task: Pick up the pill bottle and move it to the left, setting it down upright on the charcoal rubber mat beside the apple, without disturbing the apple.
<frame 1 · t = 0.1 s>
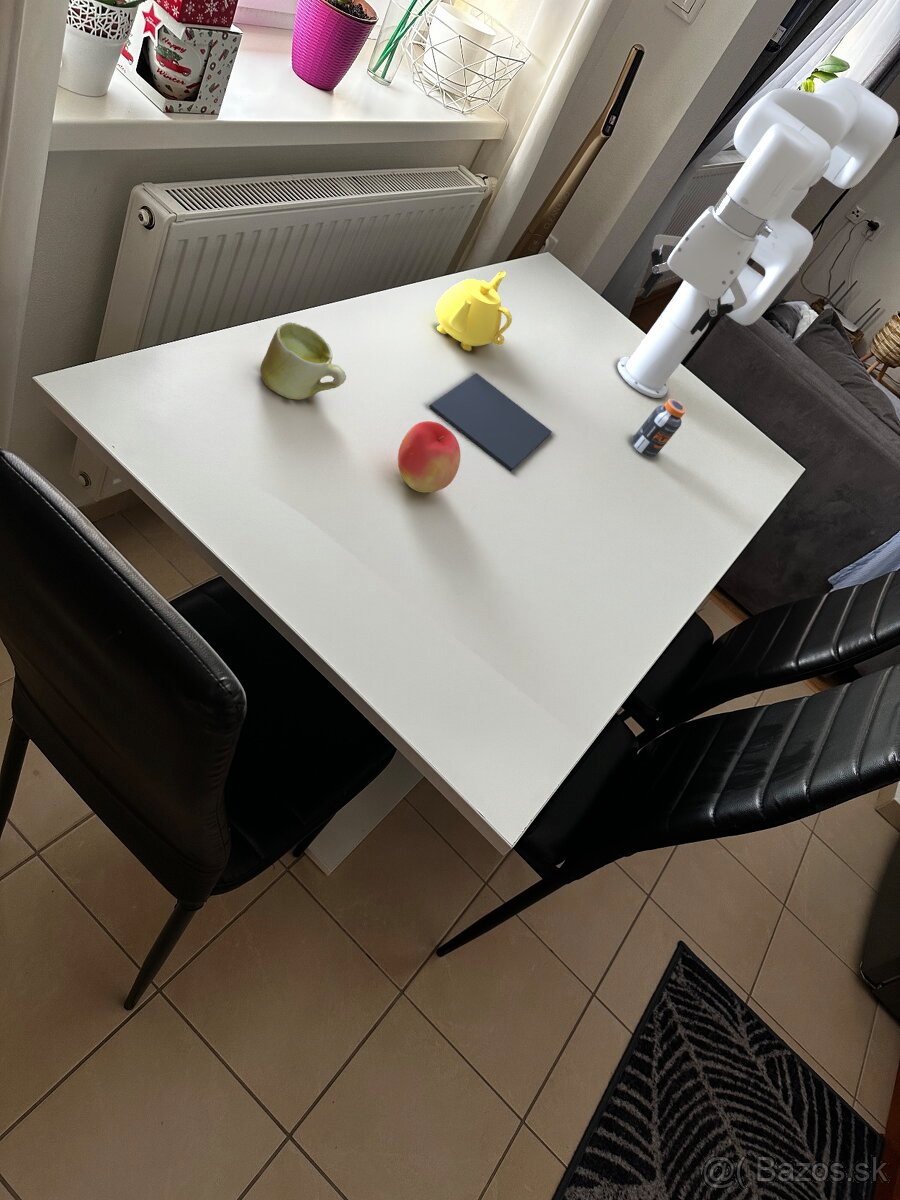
hand: (669, 313, 136), 31 cm above the table, tool pointing down, fingers open, 9 cm apart
mat: (492, 420, 153), on the table
mug: (296, 389, 134), on the table
teapot: (463, 337, 168), on the table
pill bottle: (642, 448, 171), on the table
apple: (414, 483, 133), on the table
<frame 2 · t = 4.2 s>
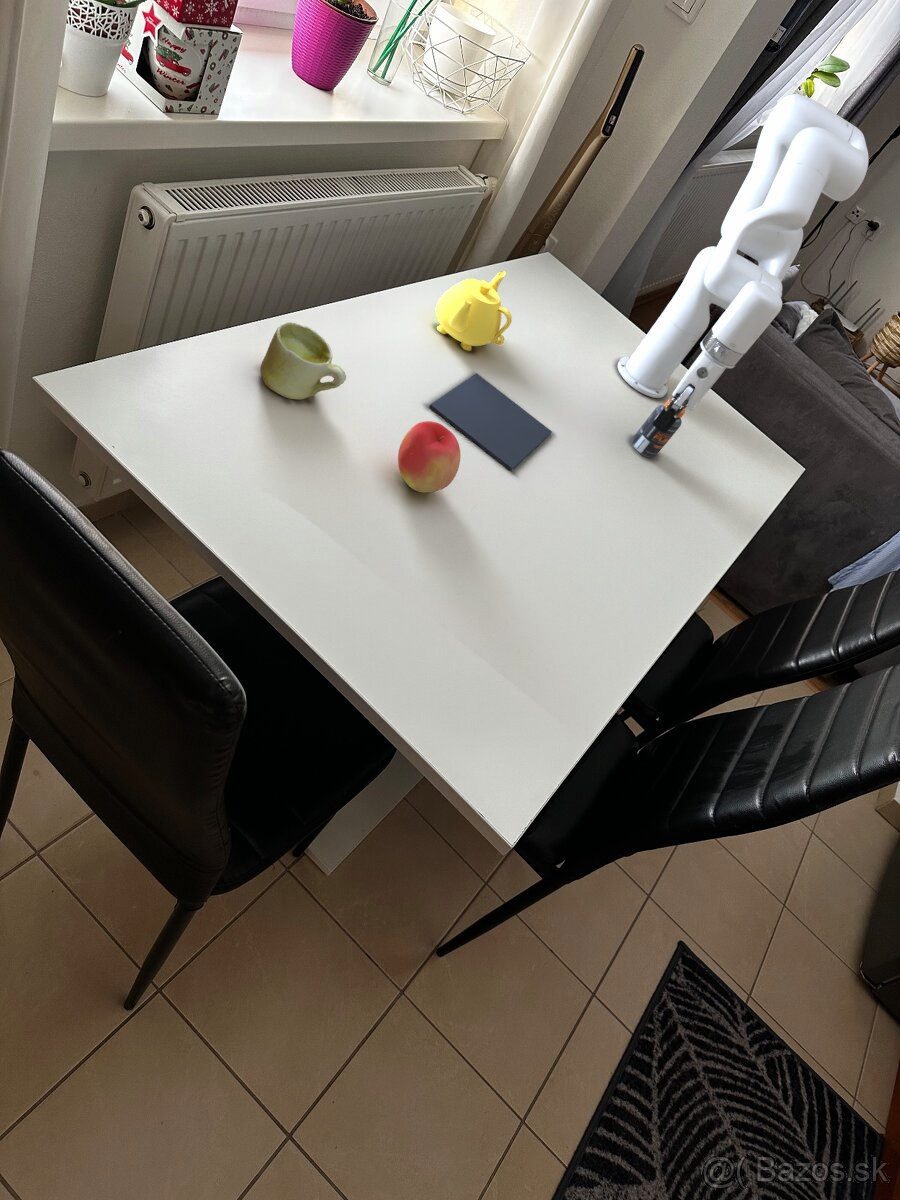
hand: (663, 421, 167), 7 cm above the table, tool pointing down, fingers closed on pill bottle, 5 cm apart
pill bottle: (642, 448, 171), on the table, touching gripper
everything else where it was.
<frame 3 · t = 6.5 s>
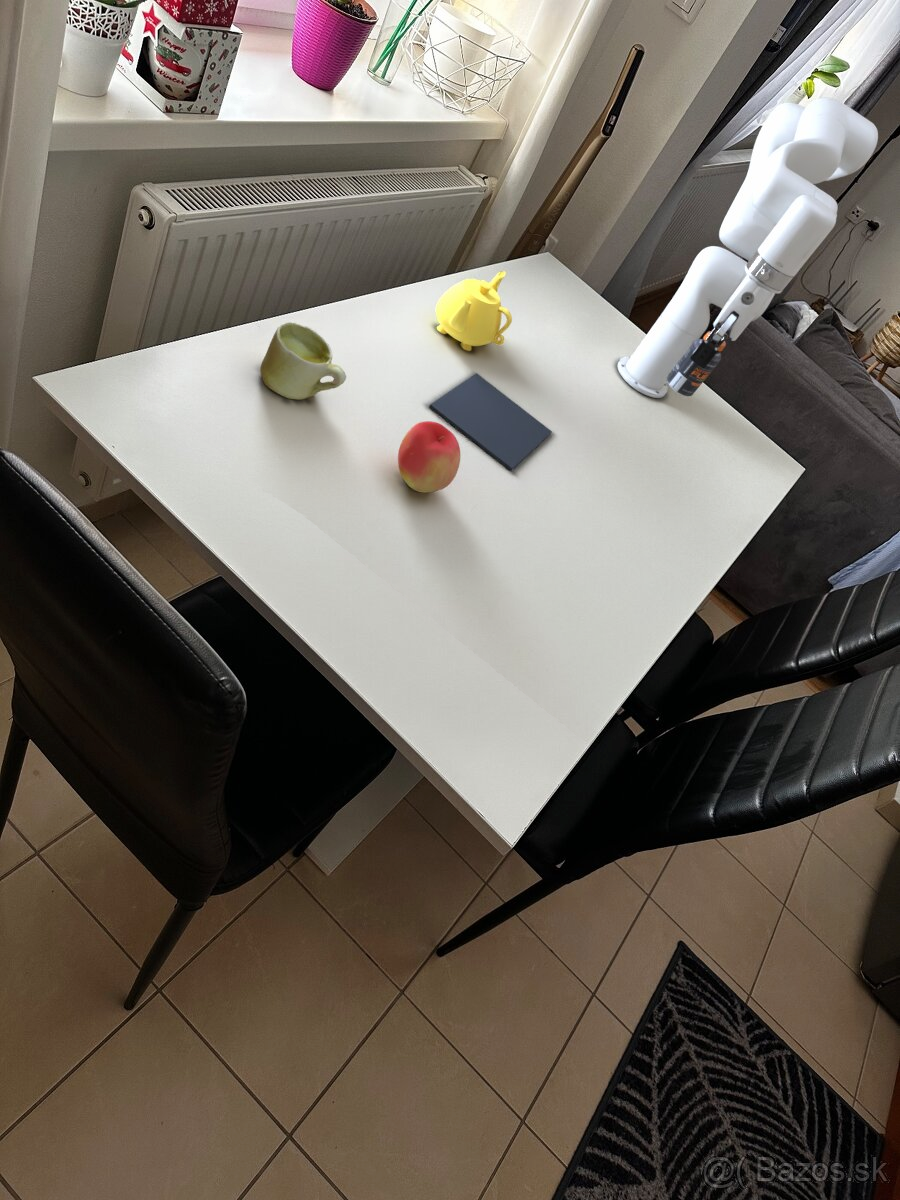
hand: (702, 357, 155), 22 cm above the table, tool pointing down, fingers closed on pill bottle, 5 cm apart
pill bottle: (678, 387, 160), point 15 cm above the table, touching gripper
everything else where it was.
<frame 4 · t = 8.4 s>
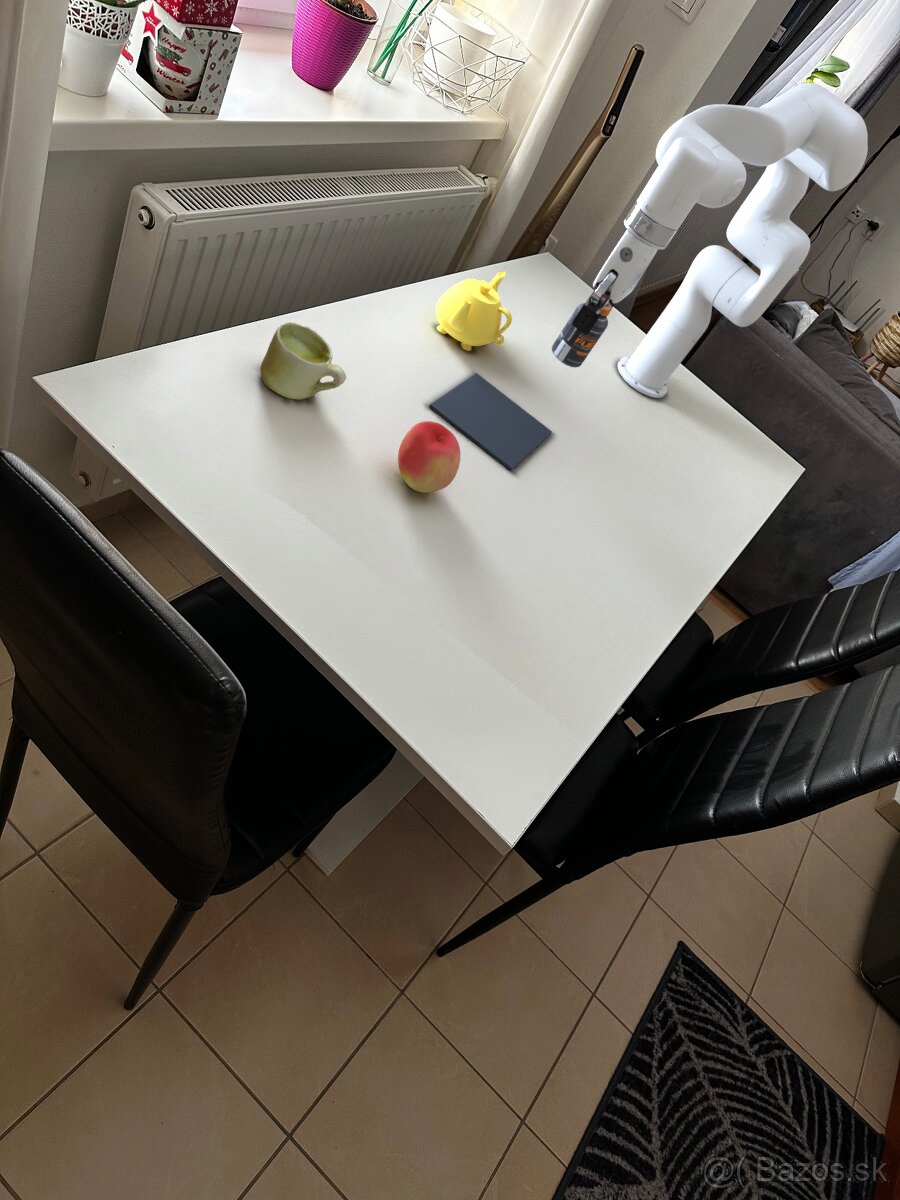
hand: (587, 323, 141), 23 cm above the table, tool pointing down, fingers closed on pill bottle, 5 cm apart
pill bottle: (565, 358, 146), point 16 cm above the table, touching gripper
everything else where it was.
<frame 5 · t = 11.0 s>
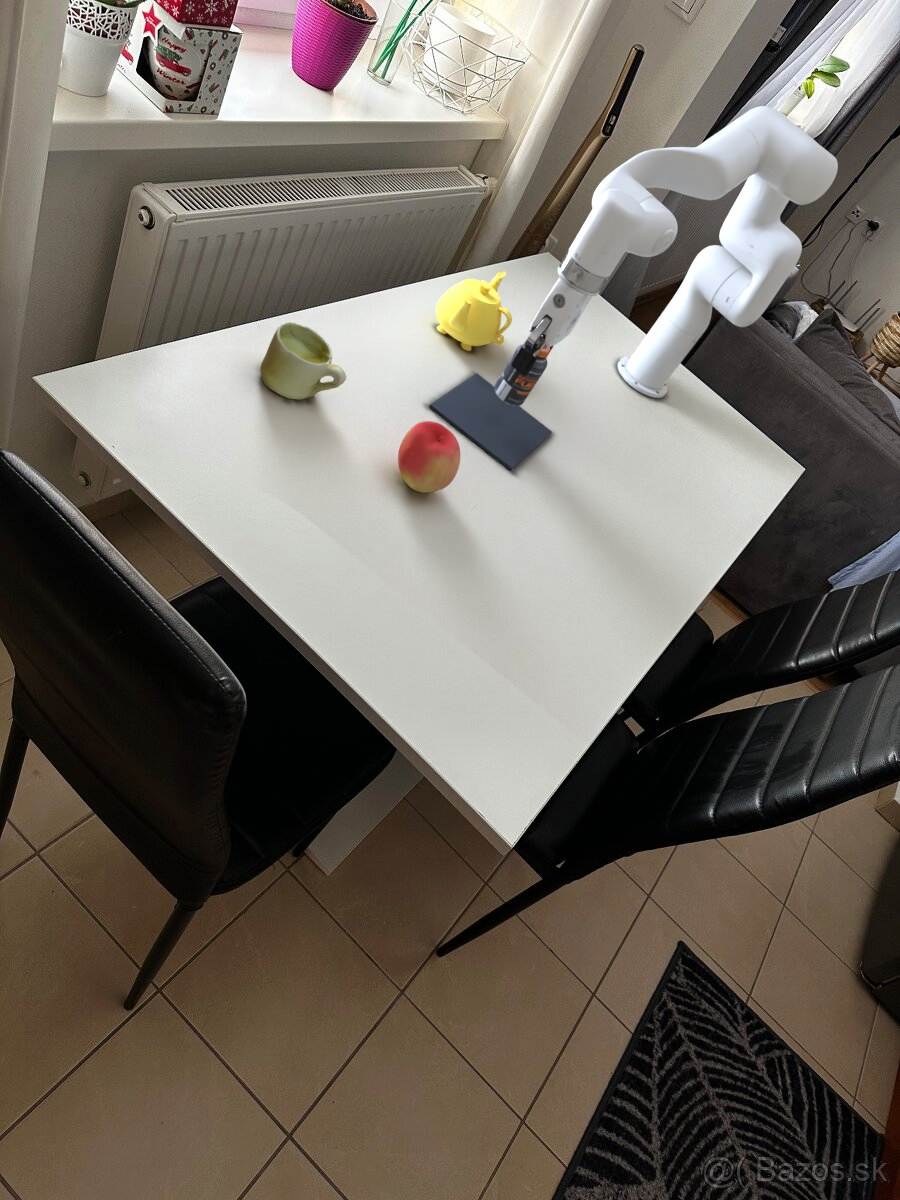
hand: (527, 363, 144), 13 cm above the table, tool pointing down, fingers closed on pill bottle, 5 cm apart
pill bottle: (507, 396, 149), point 6 cm above the table, touching gripper
everything else where it was.
when the fingers open (8 cm above the table, at t = 12.8 s): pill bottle stays where it is, resting on mat.
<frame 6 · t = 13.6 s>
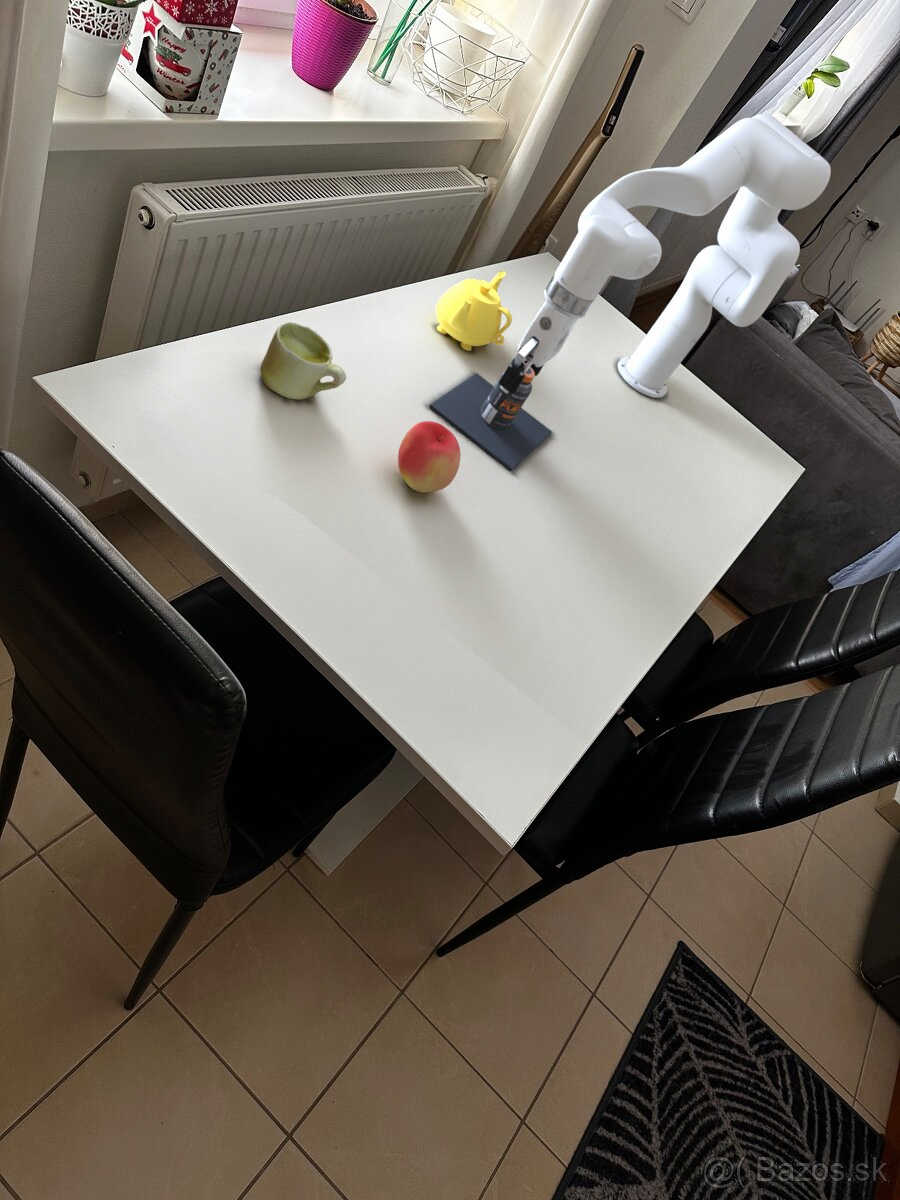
hand: (518, 379, 147), 9 cm above the table, tool pointing down, fingers open, 9 cm apart
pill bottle: (493, 419, 153), resting on mat
everything else where it was.
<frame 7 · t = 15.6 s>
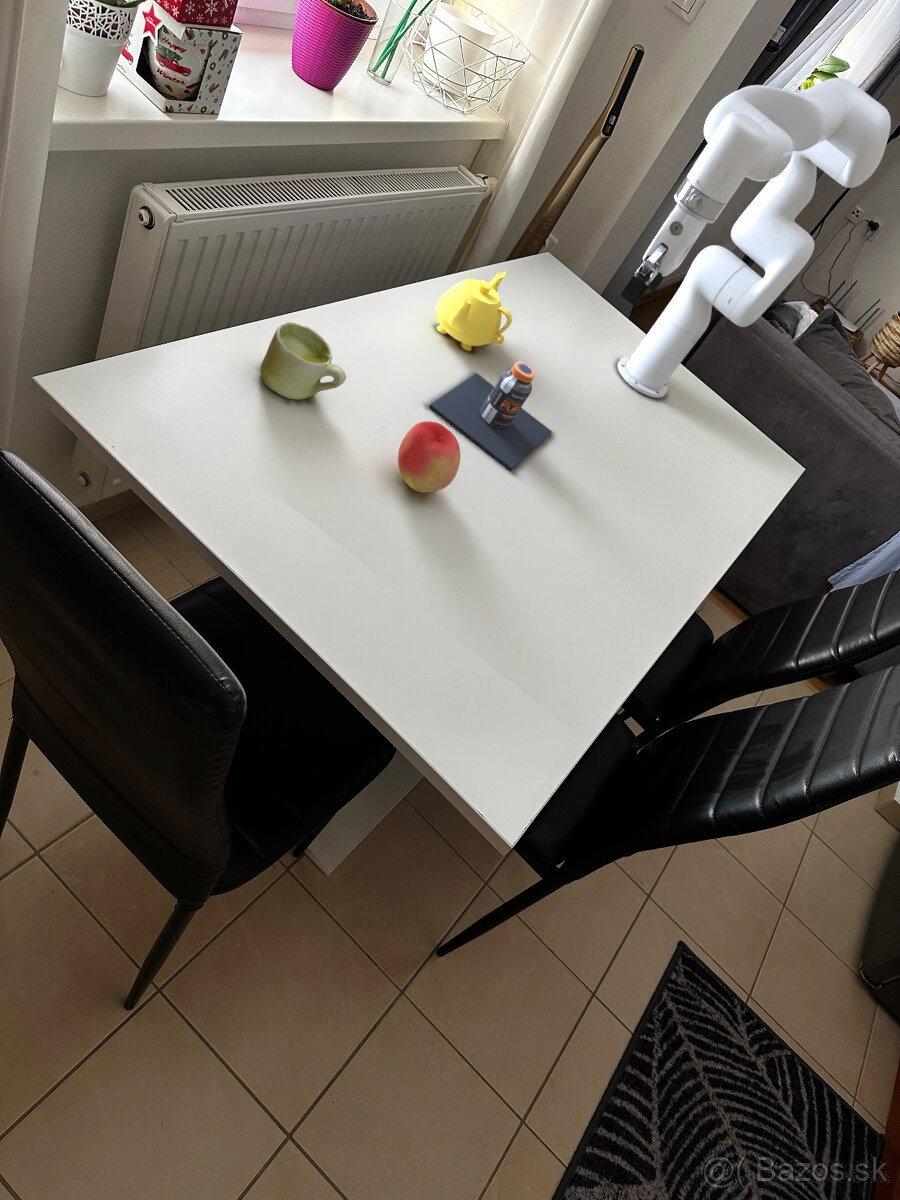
hand: (637, 293, 144), 28 cm above the table, tool pointing down, fingers open, 9 cm apart
nothing on the table moved.
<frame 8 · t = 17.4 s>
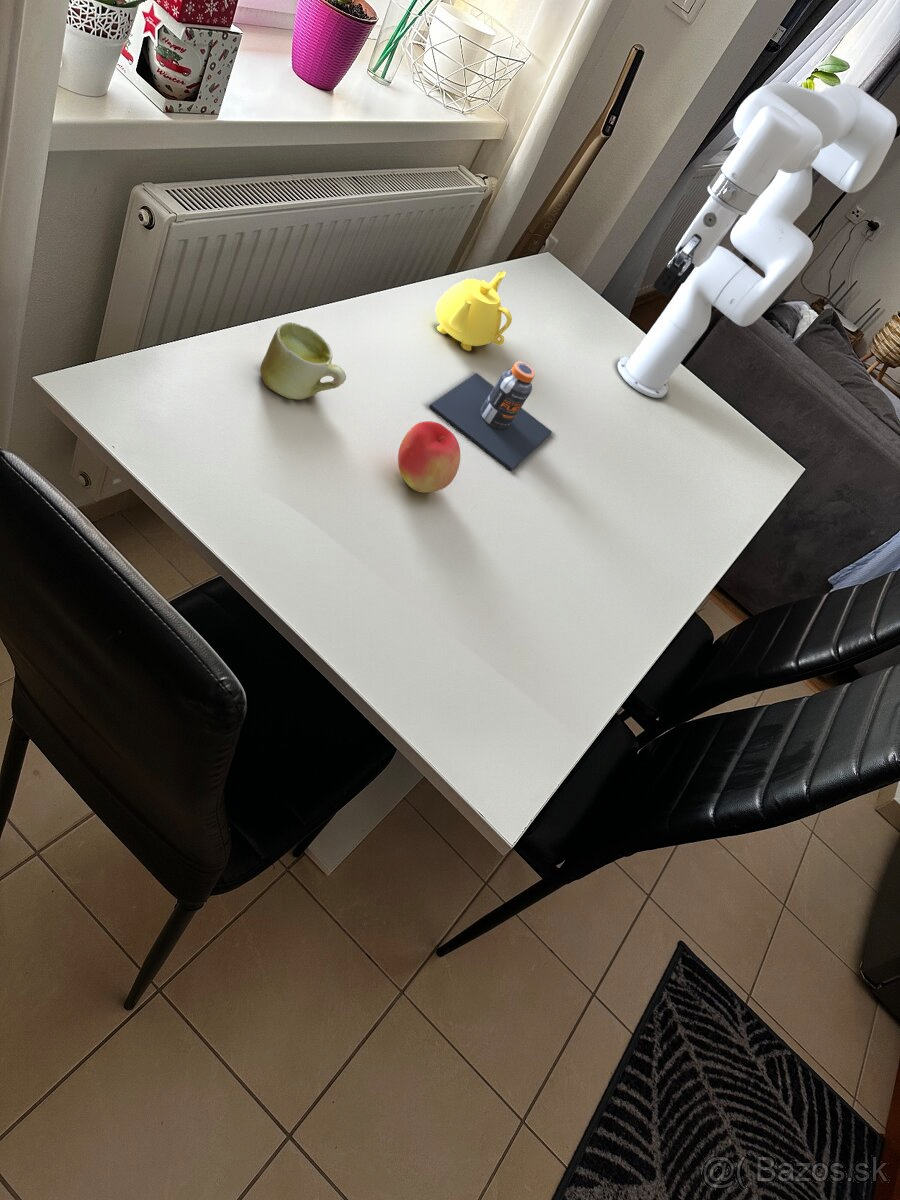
hand: (668, 284, 147), 30 cm above the table, tool pointing down, fingers open, 9 cm apart
nothing on the table moved.
at the end: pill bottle inside the target area on the mat (0.1 cm from its centre), point 0.4 cm above the mat's base; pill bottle tilted 0°; apple moved 0.2 cm from its start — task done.
